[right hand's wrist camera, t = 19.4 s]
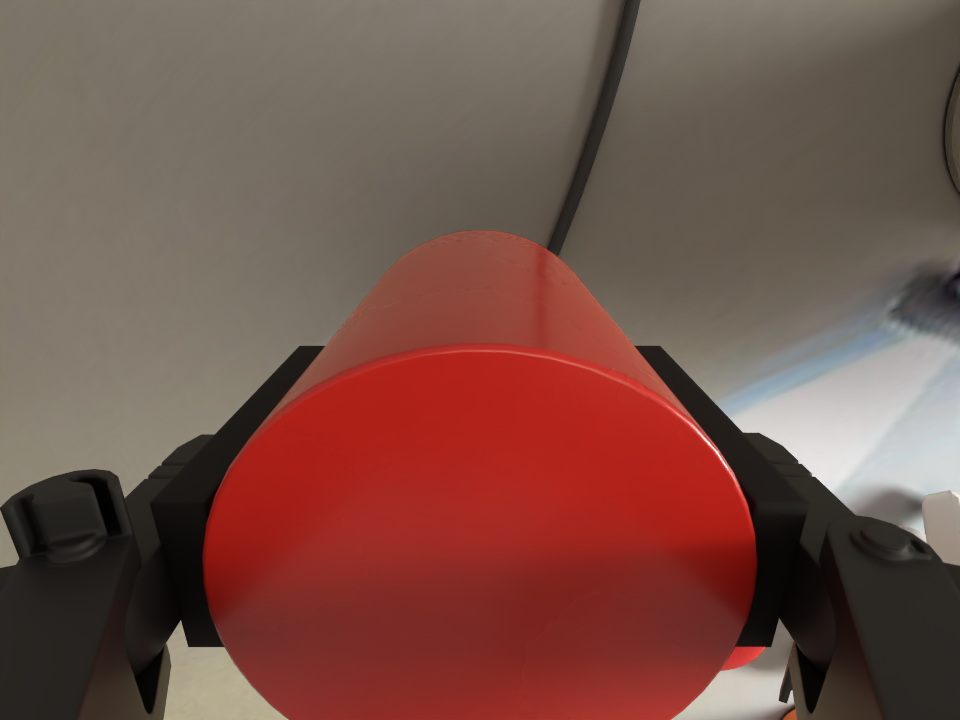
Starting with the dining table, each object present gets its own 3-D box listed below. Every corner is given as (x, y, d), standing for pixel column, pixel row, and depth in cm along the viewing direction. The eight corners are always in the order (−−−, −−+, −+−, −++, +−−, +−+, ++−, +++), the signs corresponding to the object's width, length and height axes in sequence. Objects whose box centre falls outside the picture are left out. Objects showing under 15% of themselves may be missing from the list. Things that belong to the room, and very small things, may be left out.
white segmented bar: (934, 479, 39) (1013, 549, 33) (976, 494, 40) (1060, 565, 34) (776, 639, 48) (816, 718, 42) (812, 650, 48) (856, 729, 42)
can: (317, 378, 17) (113, 655, 8) (446, 175, 15) (386, 206, 5) (506, 491, 19) (534, 837, 9) (649, 322, 17) (882, 549, 7)
